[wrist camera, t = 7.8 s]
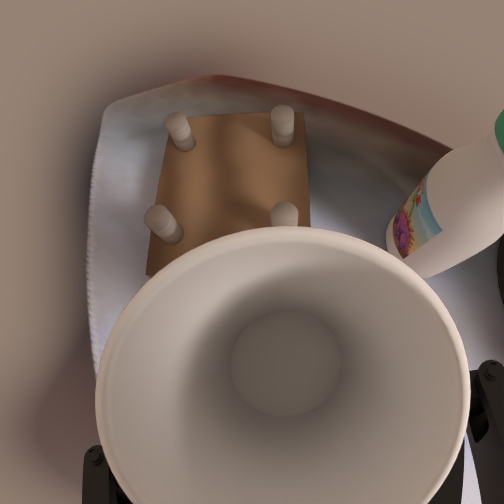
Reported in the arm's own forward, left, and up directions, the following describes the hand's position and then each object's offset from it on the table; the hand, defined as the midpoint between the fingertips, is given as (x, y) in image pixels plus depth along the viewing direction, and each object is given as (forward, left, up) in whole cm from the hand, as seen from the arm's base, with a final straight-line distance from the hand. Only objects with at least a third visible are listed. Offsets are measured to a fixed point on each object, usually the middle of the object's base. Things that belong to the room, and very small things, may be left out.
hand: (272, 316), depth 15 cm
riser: (+4, -12, -13) cm, 19 cm away
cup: (-1, +3, -7) cm, 7 cm away
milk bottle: (-15, -8, -14) cm, 22 cm away
